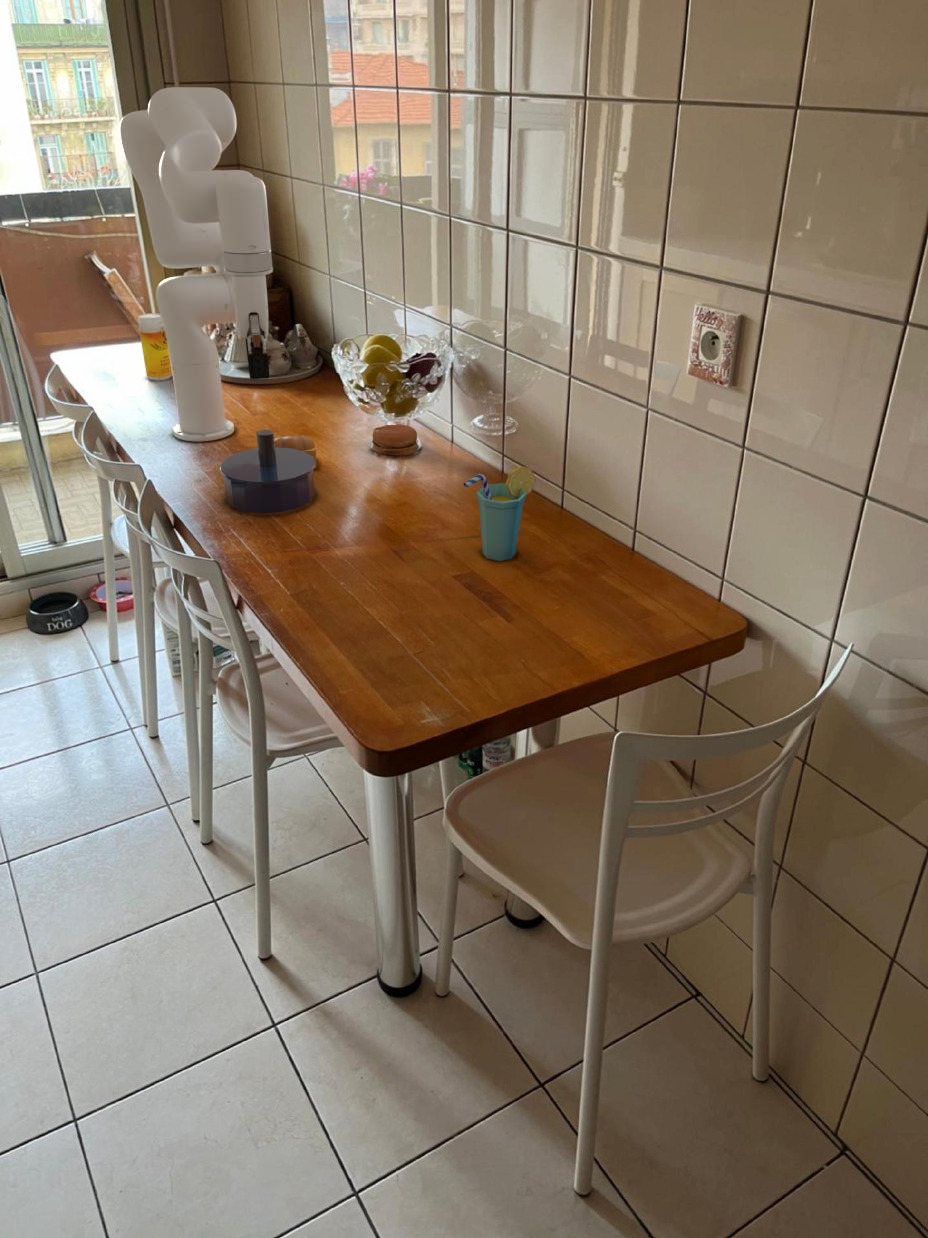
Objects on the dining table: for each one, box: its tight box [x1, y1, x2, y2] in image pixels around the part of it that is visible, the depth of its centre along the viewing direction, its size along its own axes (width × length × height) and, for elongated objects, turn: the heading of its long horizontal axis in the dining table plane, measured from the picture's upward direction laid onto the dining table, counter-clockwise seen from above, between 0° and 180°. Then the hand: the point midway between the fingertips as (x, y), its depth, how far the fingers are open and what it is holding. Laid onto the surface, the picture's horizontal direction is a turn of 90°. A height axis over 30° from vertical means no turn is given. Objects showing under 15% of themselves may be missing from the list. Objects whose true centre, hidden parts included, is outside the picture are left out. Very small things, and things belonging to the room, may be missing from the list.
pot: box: [223, 470, 316, 514], centre depth 165 cm, size 16×16×6 cm
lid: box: [219, 429, 316, 485], centre depth 162 cm, size 17×17×7 cm
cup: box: [463, 465, 536, 562], centre depth 145 cm, size 14×8×15 cm, turn 133°
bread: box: [274, 435, 318, 468], centre depth 178 cm, size 9×6×6 cm, turn 103°
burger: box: [371, 423, 419, 456], centre depth 187 cm, size 10×9×5 cm
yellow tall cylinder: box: [137, 312, 173, 381], centre depth 225 cm, size 6×6×15 cm
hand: (258, 369), depth 154 cm, fingers open, 9 cm apart
